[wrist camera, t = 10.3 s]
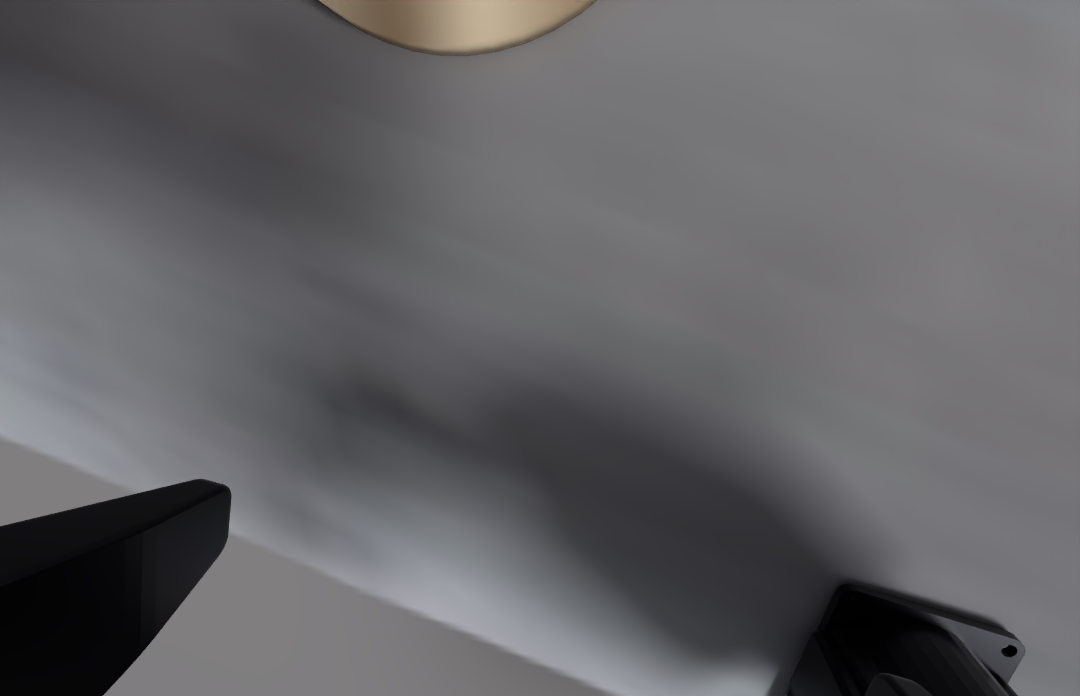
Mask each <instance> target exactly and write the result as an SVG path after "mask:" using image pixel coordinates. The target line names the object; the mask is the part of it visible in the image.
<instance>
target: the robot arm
mask: <svg viewBox="0 0 1080 696" xmlns="http://www.w3.org/2000/svg"><path fill="white" fill-rule="evenodd" d="M230 508H231V491H230V489H229V488H228V487H227V486H226V485H223V484H219V483H216V482H212V481H209V480H205V479H196V480H191V481H187V482H183V483H179V484H175V485H171V486H166V487H162V488H158V489H154V490H150V491H146V492H141V493H137V494H133V495H129V496H125V497H121V498H117V499H112V500H108V501H104V502H100V503H96V504H92V505H87V506H83V507H79V508H75V509H71V510H67V511H62V512H58V513H54V514H50V515H46V516H41V517H37V518H33V519H29V520H25V521H21V522H16V523H12V524H8V525H4V526H0V696H103V695H104V694H105V693H106V692H107V691H108V689H110V687H111V686H112V685H113V684H114V683H115V682H116V681H117V680H118V679H119V678H120V677H121V676H122V675H123V674H124V672H125V671H126V670H127V669H128V668H129V667H130V666H131V665H132V664H133V662H134V661H135V660H136V659H137V658H138V657H139V656H140V655H141V653H142V652H143V651H144V650H145V649H146V647H147V646H148V645H149V644H150V642H151V641H152V640H153V639H154V638H155V636H156V635H157V634H158V633H159V631H160V630H161V629H162V628H163V626H164V625H165V624H166V622H167V621H168V620H169V619H170V617H171V616H172V615H173V614H174V612H175V611H176V610H177V609H178V607H179V606H180V605H181V603H182V602H183V601H184V600H185V598H186V597H187V596H188V595H189V593H190V592H191V591H192V589H193V588H194V587H195V586H196V584H197V583H198V581H200V579H201V578H202V577H203V575H204V574H205V573H206V572H207V570H208V569H209V568H210V567H211V565H212V564H213V563H214V561H215V560H216V559H217V558H218V556H219V555H220V554H221V552H222V550H223V549H224V547H225V544H226V542H227V538H228V531H229V519H230ZM851 596H854V597H856V598H855V599H854V600H852V601H846V600H847V599H848V598H849V597H851ZM1006 645H1008V646H1007V647H1006V648H1003V647H1004V646H1006ZM1002 648H1003V649H1002ZM1024 654H1025V647H1024V645H1023V644H1022V643H1021V642H1020V641H1019V640H1018V639H1017V638H1016V637H1015V636H1014V635H1013V634H1012V633H1010V632H1008V631H1005V630H1002V629H998V628H995V627H992V626H989V625H985V624H982V623H979V622H976V621H972V620H969V619H966V618H962V617H959V616H956V615H953V614H949V613H946V612H943V611H940V610H936V609H933V608H930V607H927V606H923V605H920V604H917V603H914V602H910V601H907V600H904V599H901V598H897V597H894V596H891V595H888V594H884V593H881V592H878V591H875V590H871V589H868V588H865V587H861V586H858V585H855V584H849V583H848V584H843V585H841V586H839V587H838V588H837V589H836V591H835V592H834V595H833V597H832V599H831V601H830V603H829V605H828V608H827V610H826V612H825V614H824V616H823V618H822V621H821V623H820V625H819V627H818V629H817V630H816V631H815V632H814V633H812V635H811V637H810V639H809V641H808V643H807V646H806V648H805V650H804V652H803V654H802V657H801V659H800V661H799V663H798V665H797V668H796V670H795V672H794V674H793V676H792V678H791V681H790V686H791V688H790V690H789V693H788V695H787V696H1017V694H1016V693H1015V692H1014V691H1013V690H1012V688H1011V687H1010V686H1009V685H1008V682H1009V680H1010V679H1011V677H1012V675H1013V673H1014V672H1015V670H1016V668H1017V667H1018V665H1019V663H1020V661H1021V660H1022V658H1023V656H1024Z"/></svg>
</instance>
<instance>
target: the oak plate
mask: <svg viewBox="0 0 1080 696" xmlns="http://www.w3.org/2000/svg"><path fill="white" fill-rule="evenodd" d="M319 1H321V2H322V3H323V4H325V5H326V6H327V7H329V8H330V9H331V10H333V11H334V12H335V13H337V14H338V15H339V16H341V17H342V18H344V19H345V20H347V21H348V22H350V23H351V24H353V25H354V26H356V27H357V28H359V29H360V30H362V31H364V32H366V33H368V34H370V35H372V36H374V37H376V38H378V39H380V40H382V41H384V42H386V43H389V44H392V45H396V46H399V47H402V48H405V49H408V50H411V51H416V52H422V53H428V54H435V55H442V56H470V55H477V54H485V53H492V52H498V51H501V50H505V49H508V48H512V47H515V46H518V45H522V44H525V43H528V42H530V41H532V40H534V39H536V38H539V37H541V36H543V35H545V34H547V33H550V32H552V31H554V30H555V29H557V28H559V27H560V26H562V25H563V24H565V23H567V22H568V21H570V20H571V19H573V18H575V17H576V16H578V15H579V14H581V13H582V12H583V11H585V10H586V9H587V8H588V7H589V6H591V5H592V4H593V3H594V2H595V1H597V0H319Z"/></svg>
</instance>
